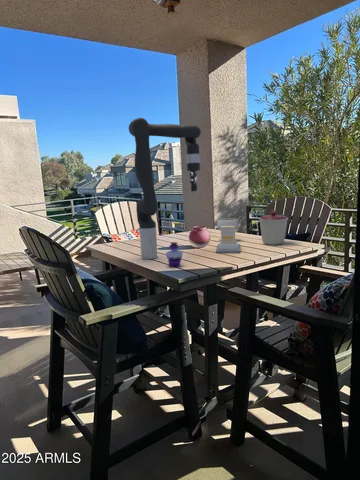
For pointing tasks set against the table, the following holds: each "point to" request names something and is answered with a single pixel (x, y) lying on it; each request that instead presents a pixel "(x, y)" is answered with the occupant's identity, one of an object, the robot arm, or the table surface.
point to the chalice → (227, 223)
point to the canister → (273, 228)
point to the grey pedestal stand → (228, 248)
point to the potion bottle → (174, 255)
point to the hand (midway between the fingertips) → (194, 191)
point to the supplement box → (227, 234)
